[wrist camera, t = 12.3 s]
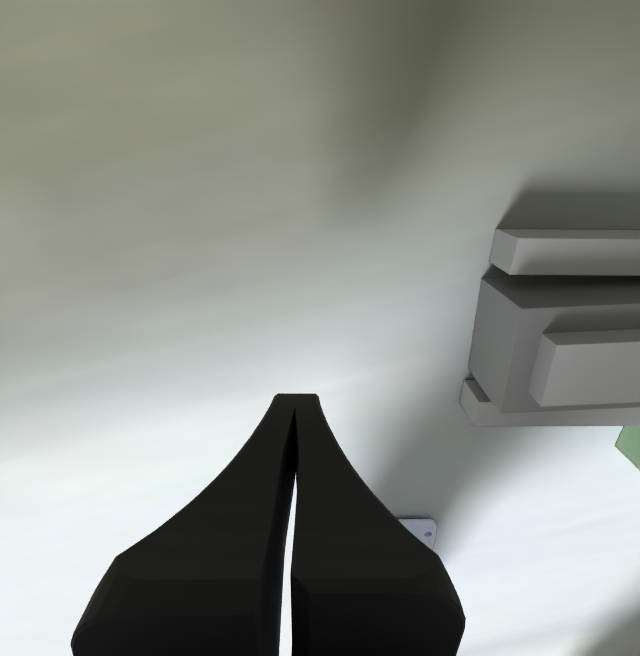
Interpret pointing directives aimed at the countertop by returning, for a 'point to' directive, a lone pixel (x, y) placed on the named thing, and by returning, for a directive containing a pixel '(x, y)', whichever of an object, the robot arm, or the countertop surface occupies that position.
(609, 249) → the deck
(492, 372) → the stepped grey block
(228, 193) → the countertop surface
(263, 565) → the robot arm
